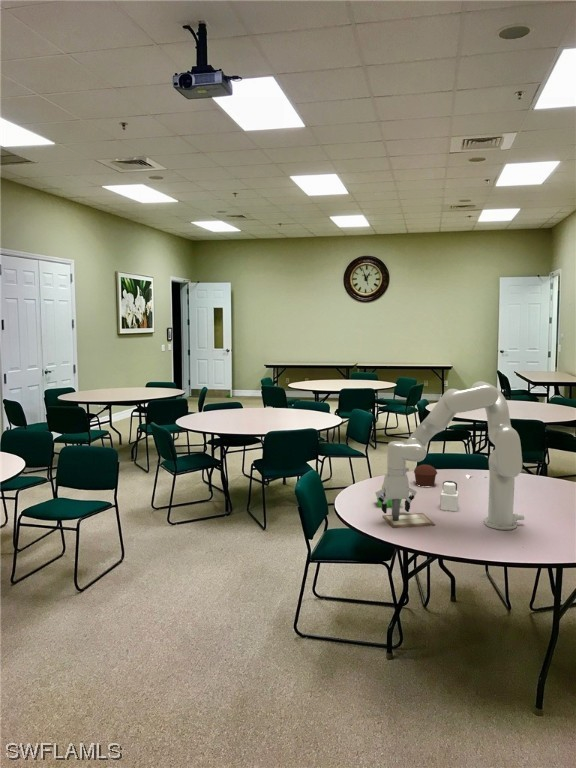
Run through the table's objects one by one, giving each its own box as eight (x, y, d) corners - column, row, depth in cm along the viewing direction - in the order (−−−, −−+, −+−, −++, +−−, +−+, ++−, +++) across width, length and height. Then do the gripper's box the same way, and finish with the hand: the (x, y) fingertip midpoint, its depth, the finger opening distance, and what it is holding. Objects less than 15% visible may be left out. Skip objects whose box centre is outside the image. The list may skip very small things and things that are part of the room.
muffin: (411, 486, 283) (411, 467, 281) (415, 480, 293) (415, 461, 292) (435, 489, 278) (436, 469, 277) (438, 482, 288) (439, 463, 287)
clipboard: (422, 514, 243) (422, 510, 243) (435, 525, 230) (435, 521, 230) (382, 516, 240) (382, 513, 240) (392, 527, 228) (392, 524, 227)
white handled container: (441, 504, 255) (442, 479, 254) (458, 506, 253) (458, 480, 251) (440, 509, 248) (441, 483, 247) (457, 511, 246) (458, 485, 245)
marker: (398, 518, 236) (398, 490, 235) (400, 521, 233) (401, 492, 232) (390, 518, 236) (390, 491, 234) (393, 521, 233) (393, 493, 231)
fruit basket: (377, 508, 251) (377, 483, 250) (374, 501, 260) (374, 477, 259) (403, 508, 251) (403, 483, 250) (399, 501, 260) (399, 477, 259)
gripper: (413, 468, 237) (412, 507, 239) (373, 470, 234) (372, 509, 236) (420, 473, 230) (419, 513, 232) (378, 475, 227) (378, 516, 229)
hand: (395, 511), depth 234 cm, fingers open, 9 cm apart
